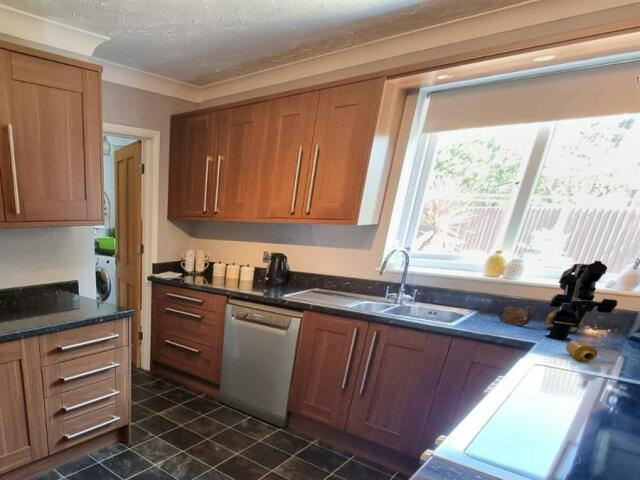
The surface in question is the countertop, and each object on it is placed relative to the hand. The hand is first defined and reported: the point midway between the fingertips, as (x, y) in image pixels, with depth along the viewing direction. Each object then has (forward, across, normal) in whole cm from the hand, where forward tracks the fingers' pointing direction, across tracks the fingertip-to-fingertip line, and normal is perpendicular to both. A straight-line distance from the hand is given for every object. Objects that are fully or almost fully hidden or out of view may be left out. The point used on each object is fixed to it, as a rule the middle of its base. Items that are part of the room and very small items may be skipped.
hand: (579, 319), depth 173 cm
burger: (-23, -5, -41) cm, 47 cm away
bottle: (+15, 0, +2) cm, 15 cm away
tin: (-24, +14, -42) cm, 50 cm away
